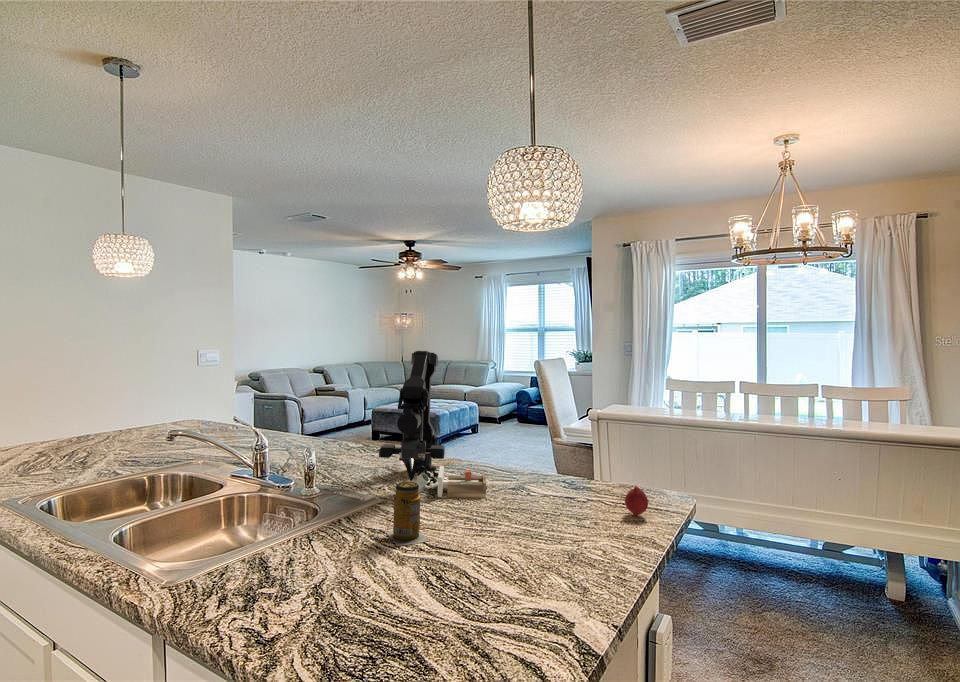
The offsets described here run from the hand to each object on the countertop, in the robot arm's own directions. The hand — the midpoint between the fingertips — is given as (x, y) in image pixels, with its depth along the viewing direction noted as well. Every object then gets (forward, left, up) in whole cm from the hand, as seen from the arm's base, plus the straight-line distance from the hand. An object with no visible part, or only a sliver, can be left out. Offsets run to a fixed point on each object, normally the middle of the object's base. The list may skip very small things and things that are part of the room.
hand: (411, 480), depth 150 cm
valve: (+1, +1, -2) cm, 2 cm away
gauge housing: (0, +16, -3) cm, 16 cm away
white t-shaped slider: (0, +14, -3) cm, 14 cm away
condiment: (+33, +2, -4) cm, 33 cm away
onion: (+18, +60, -3) cm, 63 cm away
